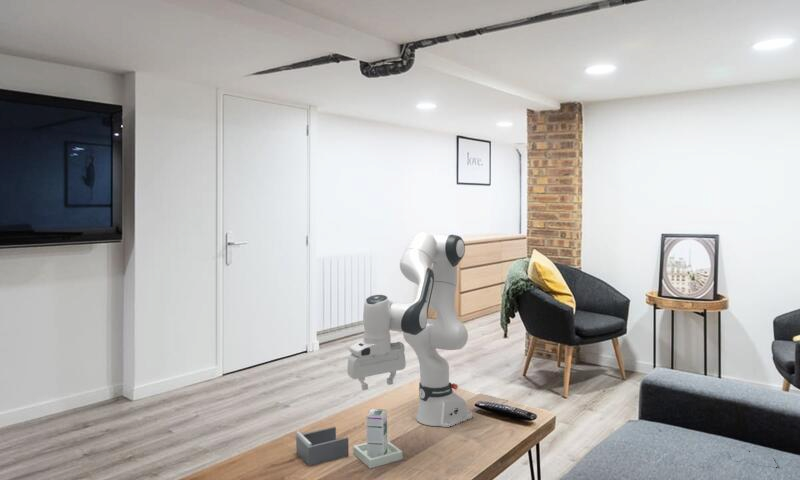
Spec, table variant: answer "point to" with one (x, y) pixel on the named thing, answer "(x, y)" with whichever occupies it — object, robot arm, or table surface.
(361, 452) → the tray
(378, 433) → the syrup box
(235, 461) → the table surface
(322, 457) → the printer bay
